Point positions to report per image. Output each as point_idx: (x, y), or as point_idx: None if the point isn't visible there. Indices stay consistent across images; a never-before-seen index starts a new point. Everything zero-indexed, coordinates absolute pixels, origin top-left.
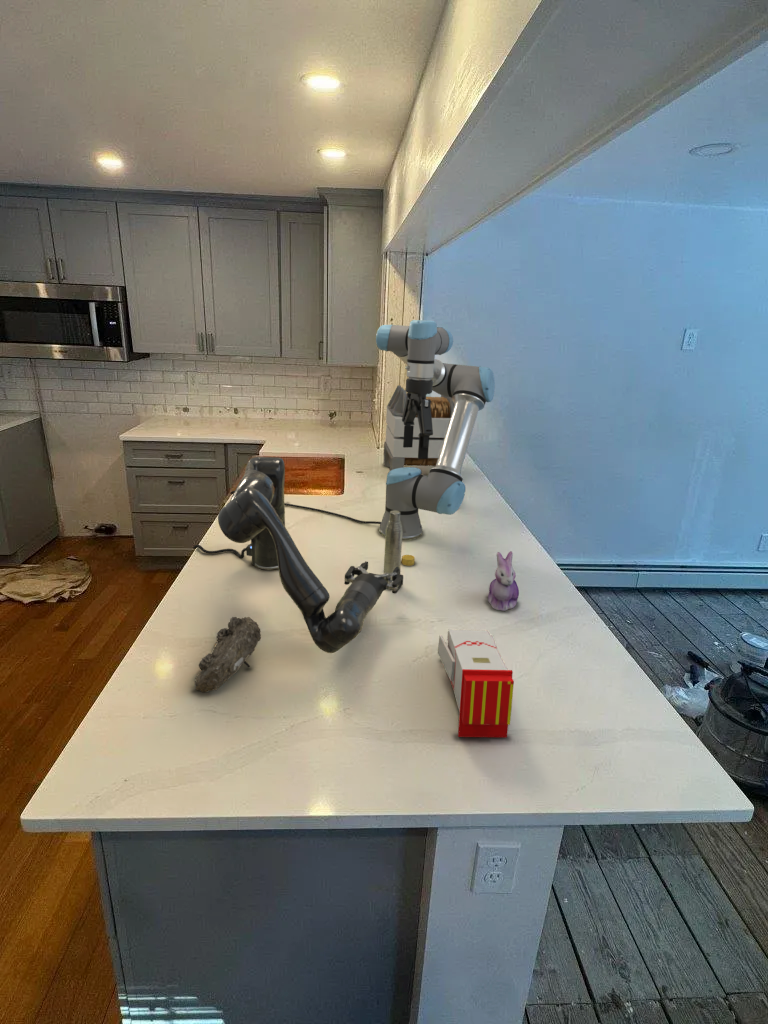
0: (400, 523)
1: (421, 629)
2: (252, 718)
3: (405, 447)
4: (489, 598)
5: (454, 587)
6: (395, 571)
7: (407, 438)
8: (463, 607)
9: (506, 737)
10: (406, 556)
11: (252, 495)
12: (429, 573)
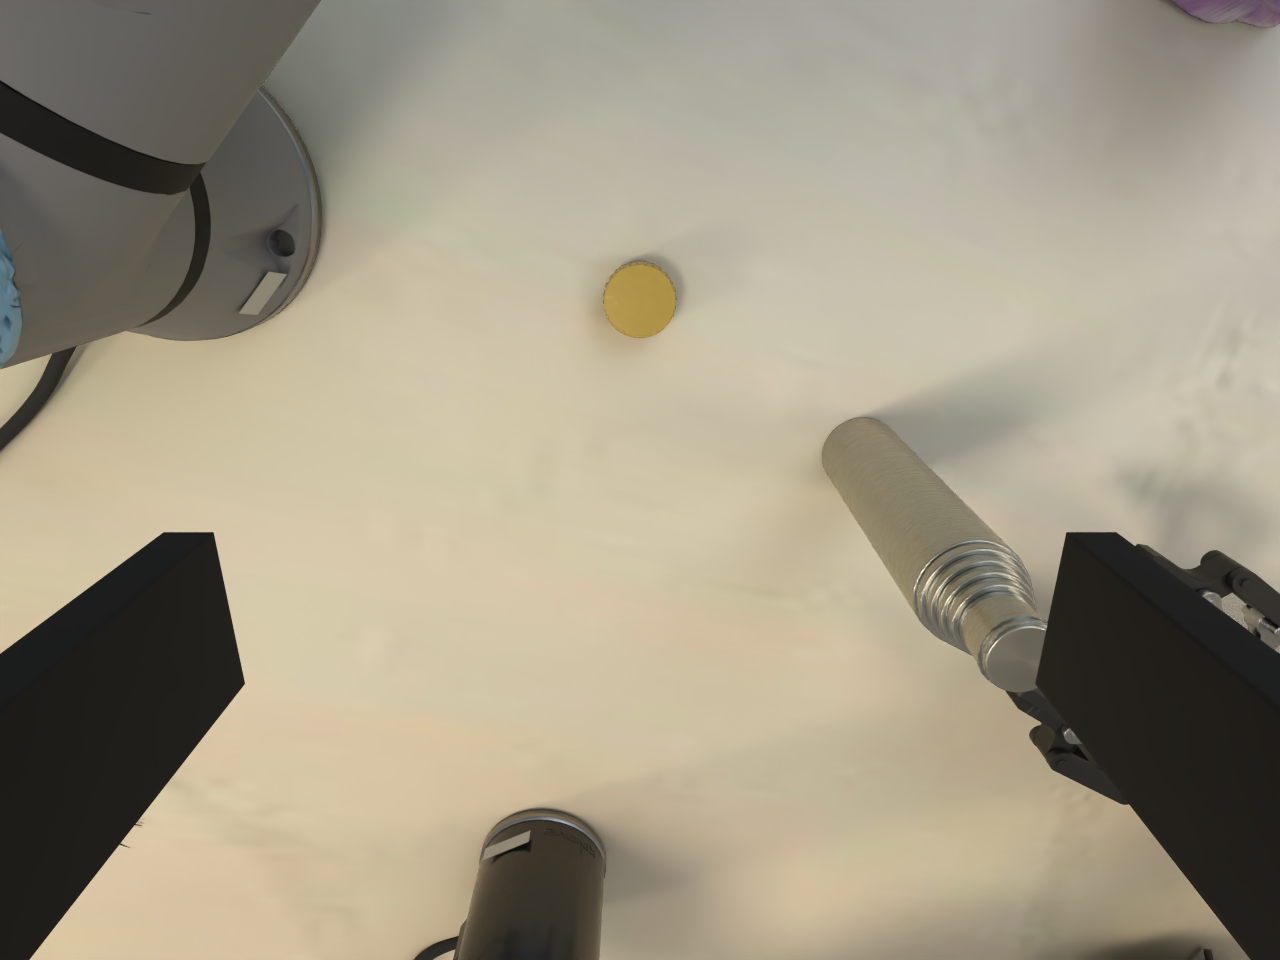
0: (1017, 581)
1: (1255, 442)
2: None
3: (236, 656)
4: (1217, 12)
5: (978, 142)
6: None
7: (126, 746)
8: (1180, 184)
9: None
10: (626, 308)
11: None
12: (787, 220)
